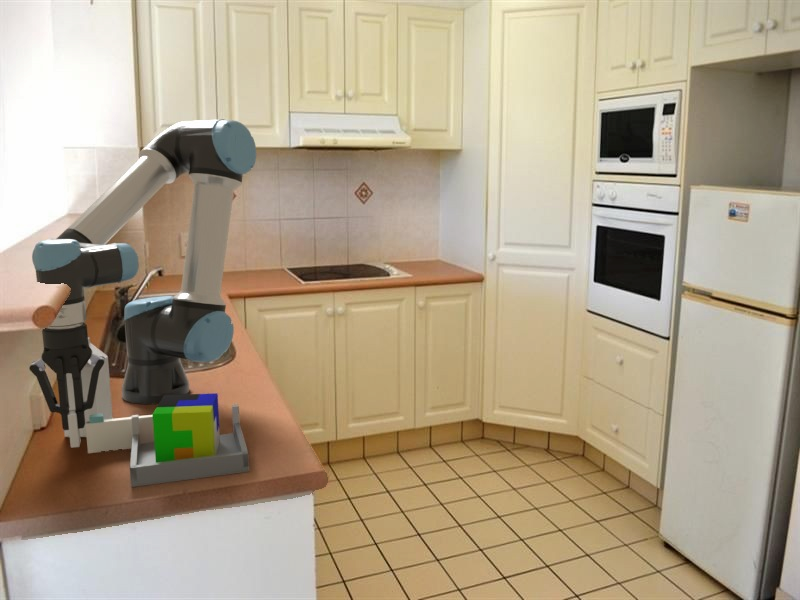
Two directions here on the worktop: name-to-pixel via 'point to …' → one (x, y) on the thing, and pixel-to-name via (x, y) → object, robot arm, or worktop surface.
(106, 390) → the milk carton
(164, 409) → the puzzle toy
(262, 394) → the worktop surface
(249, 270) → the worktop surface
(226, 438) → the grey tray
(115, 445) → the cover panel
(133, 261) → the robot arm
